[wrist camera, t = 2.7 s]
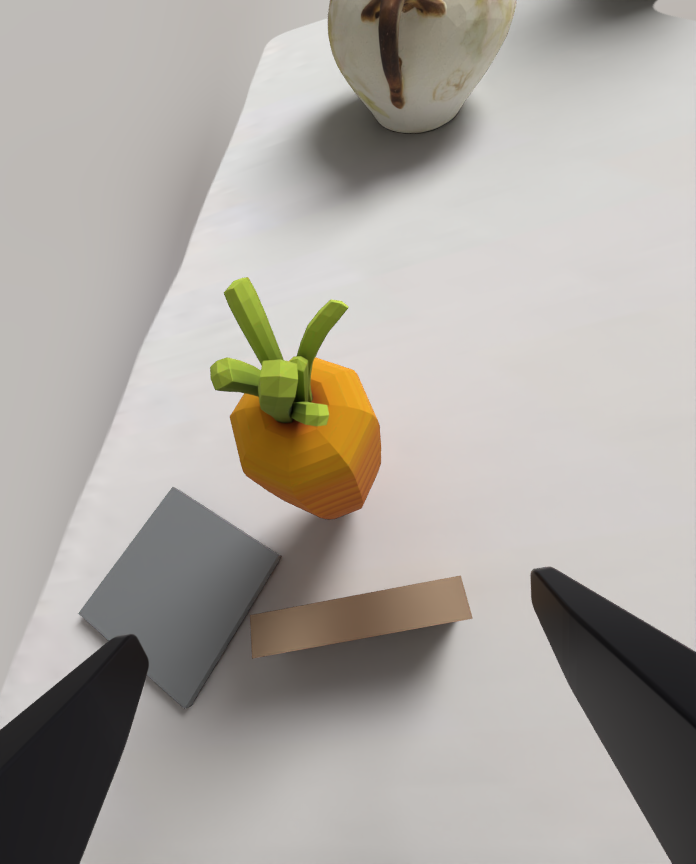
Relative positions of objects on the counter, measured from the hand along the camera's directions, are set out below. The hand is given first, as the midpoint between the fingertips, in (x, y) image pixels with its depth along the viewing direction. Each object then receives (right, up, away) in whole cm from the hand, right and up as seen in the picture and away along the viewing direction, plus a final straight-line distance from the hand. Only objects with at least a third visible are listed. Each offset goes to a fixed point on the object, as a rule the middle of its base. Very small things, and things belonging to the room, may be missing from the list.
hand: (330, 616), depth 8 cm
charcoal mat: (-9, -4, +12) cm, 16 cm away
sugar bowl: (+7, +36, +28) cm, 46 cm away
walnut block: (+1, -5, +11) cm, 12 cm away
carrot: (0, 0, +13) cm, 13 cm away
